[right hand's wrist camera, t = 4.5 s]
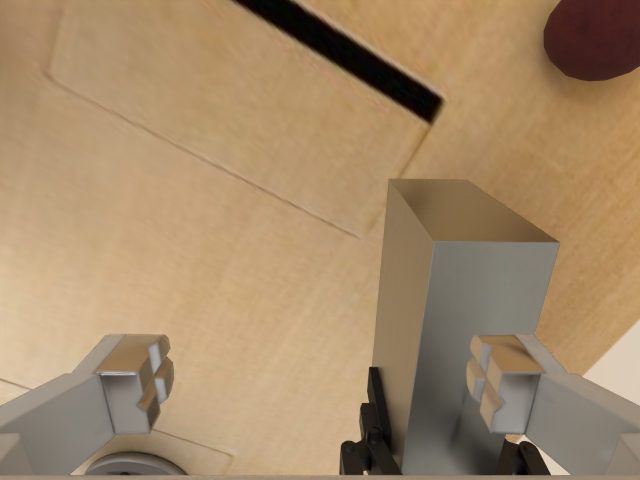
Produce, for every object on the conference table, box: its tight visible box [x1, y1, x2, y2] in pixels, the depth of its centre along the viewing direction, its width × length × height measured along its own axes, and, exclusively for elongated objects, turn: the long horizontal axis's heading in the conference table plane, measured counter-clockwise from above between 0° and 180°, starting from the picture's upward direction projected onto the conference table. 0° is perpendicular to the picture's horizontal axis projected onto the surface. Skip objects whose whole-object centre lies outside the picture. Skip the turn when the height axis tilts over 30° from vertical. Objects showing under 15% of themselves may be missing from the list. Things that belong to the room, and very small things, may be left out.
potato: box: [544, 0, 640, 81], centre depth 29 cm, size 7×8×7 cm
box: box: [372, 179, 560, 475], centre depth 28 cm, size 21×6×12 cm, turn 179°
